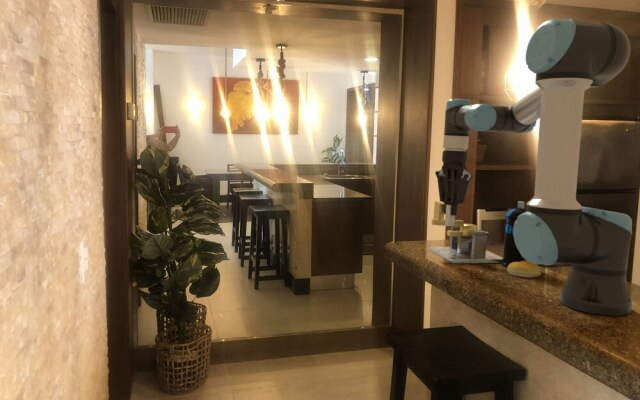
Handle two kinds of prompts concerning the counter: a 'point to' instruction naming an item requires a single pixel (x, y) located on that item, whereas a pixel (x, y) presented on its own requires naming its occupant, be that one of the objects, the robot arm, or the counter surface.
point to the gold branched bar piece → (464, 228)
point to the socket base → (464, 257)
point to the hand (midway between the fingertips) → (449, 225)
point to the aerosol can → (512, 237)
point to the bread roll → (524, 269)
